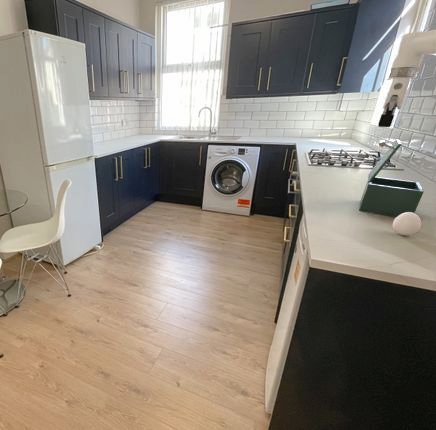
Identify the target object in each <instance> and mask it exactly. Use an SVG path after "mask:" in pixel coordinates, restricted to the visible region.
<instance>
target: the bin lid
mask: <svg viewBox="0 0 436 430" xmlns="http://www.w3.org/2000/svg"><path fill="white" fill-rule="evenodd" d="M402 145H403V144H402V142H401V140H400V139H395V141H394V142H393V143H392V144H391V143H387V142H386V141H385V140H384V139H382V140H379V141H378V146H379V147H381V148H384V147H385V148H388V149H387V150H386V152H385V153H384V154H383V156H382V157H381V158H380V159H379V161H378V162H376V164H375V166H373V168H372V170H370V172H369V173H368V175H367V181H368V183H371V182H372V180H373V179H374V178H375V177H377V176H378V174H380V172H381V171H382V169H383V168H384V167H385V166H386V164H387V163H388V162H389V161H390V159H391V158H392V157H393V156H394V155H395V154H396V152H397V151H398V150H399V148H401V146H402Z"/></svg>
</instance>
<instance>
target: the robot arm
mask: <svg viewBox="0 0 436 430" xmlns="http://www.w3.org/2000/svg"><path fill="white" fill-rule="evenodd" d="M425 55H432V56H435V57H436V29H432V30H427V31H424V30H423V31H413V32H408V33H405V34H403V35H401V36H400V37H399V39H398V40H397V45H396V47H395V50H394V53H393V56H392V58H391V63H390V66H389V69H388V71H387V74H386V78H385V80H387V81H389V82H388V85H387V87H386V92H385V95H384V98H383V103H382V110H383V111H382V113H381V114H380V118H379V121H378V123H377V124H378V128H390V127H391V125H392V123H393V120H394V117H395V113H396V109H397V110H401V109H402V108H403V105H404V102H405V99H406V96H407V93H408V90H409V87H410V84H411V80H414V79H416V78H417V75H418V73H419V70H420V67H421V64H422V61H423V59H424V56H425Z"/></svg>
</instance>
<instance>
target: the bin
mask: <svg viewBox="0 0 436 430" xmlns="http://www.w3.org/2000/svg"><path fill="white" fill-rule="evenodd" d="M423 195H424V189H423V187H422V186H421V184H420V182H419V181H418V182H417V181H411V180H403V179H395V178H387V177H379V176H376V177H375V178H374V179H373V180H372V182H371V183H368V180H367V181H366V183H365V186H364V189H363V193H362V195H361V198H360V201H359V208H358V211H359V212H364V213H370V214H375V215H381V216H385V217H392V218H396V217H398V216H399V215H401V214H402V213H406V212H412V213H415V214H416V211H417V209H418V206H419V204H420V202H421V199H422V196H423Z"/></svg>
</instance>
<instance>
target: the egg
mask: <svg viewBox="0 0 436 430" xmlns="http://www.w3.org/2000/svg"><path fill="white" fill-rule="evenodd" d="M421 226H422V220H421V218H420V216H419V215H418V214H416V212H415V213H412V212H406V213H402V214H401V215H399V216H398V217H395V218H394V219H393V222H392V228H393V230H394V232H395V233H397V234H398V235H401V236H411V235H414V234H416V233H418V232H419V230H420V229H421Z"/></svg>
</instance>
